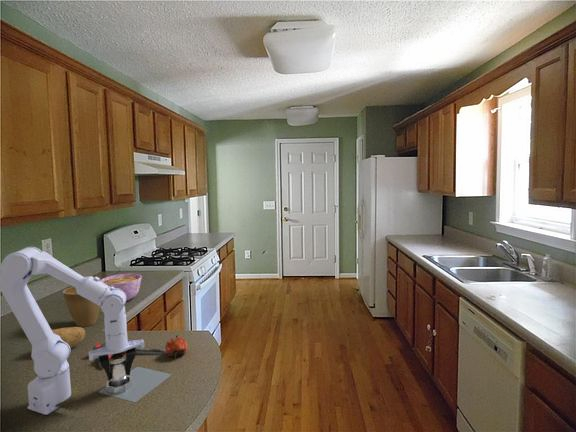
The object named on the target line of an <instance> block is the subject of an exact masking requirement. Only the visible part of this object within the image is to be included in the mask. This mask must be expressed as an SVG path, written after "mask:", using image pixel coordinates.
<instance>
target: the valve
mask: <svg viewBox="0 0 576 432" xmlns="http://www.w3.org/2000/svg"><path fill="white" fill-rule="evenodd" d="M104 346H106V342H104V343H102V342H100V343H96V344H95V345H94V346H93V347H92V351H93V350H96V349H99V348H101V347H104ZM165 353H166V352H165V349H157V348H156V349H155V348H137V349H136V355H141V356H145V355H146V356H163V355H164V354H165ZM114 355H121V358H120V359H126V351H124V352H120V353H116V354H111V355H108V356H109V361H110V360H111V358H112V357H113V356H114ZM97 362H98V366H99V367H100V368H101V369H104V368H103V367H102V365H101V364H100V362H99V358H97ZM109 366H110V364H109Z"/></svg>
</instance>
